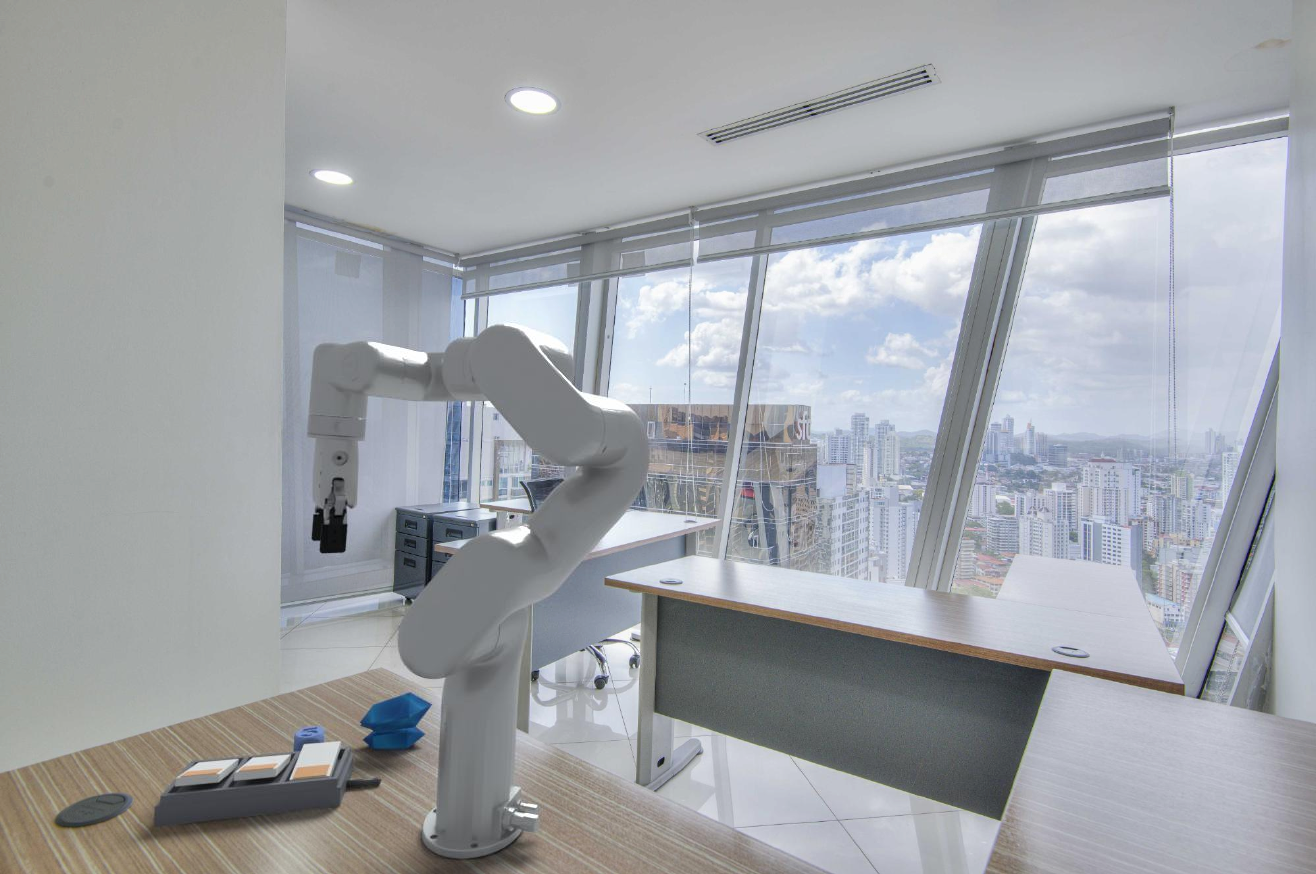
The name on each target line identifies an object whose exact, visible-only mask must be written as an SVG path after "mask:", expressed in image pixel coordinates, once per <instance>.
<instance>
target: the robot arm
mask: <svg viewBox="0 0 1316 874" xmlns="http://www.w3.org/2000/svg"><path fill="white" fill-rule="evenodd" d="M575 366H576V364H575V360H574V358H573V355H572V353H571V351H570V350H569V348H568V347H567V346H566V345H565V344H564V343H563V342H561V341H560V340H559V339H557V338H556V337H554V336H551V335H548V334H546V333H543V332H540V331H537V330H534V329H532V328H529V327H526V326H522V325H521V324H520V325H519V324H517V323H512V322H511V323H509V322H504V323H497V324H494V325H490V326H488V327H487V328H485V329H483V330H482V331H481V332H480V333H478V335H477V336H462V337H457V338H456V339H454V340H452V341H451V342H450V343H449V344H448V346H447V347H446V348H445V350H444V352H442V351H441V352H439V351H438V352H426V351H425V352H424V351H417V350H416V351H415V350H412V349H408V348H406V347H405V348H404V347H401V346H400V347H399V346H395V345H389V344H386V343H380V342H376V341H369V340H357V341H354V342H353V341H352V342H350V343H338V342H323V343H319V344H317V346H316V347H315V348H314V351H313V354H312V366H311V378H310V390H309V391H310V392H309V404H308V416H307V430H306V431H307V432H306V438H311V439H315V442H314V443H315V444H314V457H313V468H312V488H311V489H312V490H311V491H312V492H311V493H312V501H313V503H314V504H315V505H314V513H313V515H312V526H311V540H312V541H313V542H319V552H320V553H321V554H325V555H326V554H344V553H345V552H346V549H347V539H348V538H347V537H348V526H349V524H348V508H349V509H350V510H353V509H355V508H356V507H357V505H358V492H359V491H358V489H359V487H358V486H359V463H360V462H359V460H360V459H359V457H360V456H359V454H360V453H359V442H364V441H366V428H367V425H366V424H367V416H368V415H367V413H368V405H369V404H368V403H369V397H374V398H376V397H377V398H382V399H383V398H387V399H393V400H401V401H408V402H410V401H411V402H445V403H446V402H450V403H451V402H452V403H453V402H462V403H463V402H464V403H465V402H490V404H492V406H493V407H494V408H495V410H497V412H498V413H499V414H500V415H501V416H502V418H503V419H504V420H505V421H506V423H508V424H509V425H510V427H511V428H512V429H513V430H514V431H515V433H516V434H518V435H519V437H520V439H521V440H523V442H524V443H525V444H526V445H527V446H528V448H530V450H532V452H534V453H535V454H536V455H537V456H538V457H540V458H541V459H543V460H545V461H547V462H548V463H550V464H553V465H555V466H559V467H560V466H561V467H569V468H570V467H572V468H573V467H578V468H577V469H576V470H575V471H573V473H571V474H570V475H569V476H568V477H566V479H564V480H563V481H561V482H560V483H559V484H558V485H557V486H555V488H554V489H552V491H550V493H549V494H548V495H547V496H546V498H545V499H544V500H543V501H542V503H540V505H539V506H538V507H537V508H536V509H535V510H534V511H533V512H532V513H531V514H530V515H529V516H528V517H527V518H526V519H525V520H523V521H522V522H521V523H519V524H515V525H513V526H510V527H505V528H500V529H496V530H490V531H486V532H484V533H482V534H479V535H477V536H474V537H473V538H471V539H470V540H468V541H467V542H465V543H464V544H463V545H462V546H461V547H459V548H458V549H457V550H456V551H455V552H454V553H453V555H452V556H451V557H450V558H448V560H447V561H446V562H445V564H444V565H443V566H442V567H441V568H440V569H439V571H437V573H436V574H435V575H434V576H433V578H432V579H431V580H430V581H429V582H428V583H427V585H426V586H425V587H424V588H423V589H422V591H421V592H419V594H418V595H417V596H416V598H415V599H414V600H413V601H412V603H411V604H410V605H409V607H408V608H407V610H406V612H405V613H404V615H403V616H402V618H401V621H400V624H399V628H398V632H397V650H398V654H399V656H400V660H401V661H402V663H403V665H404V666H405V668H406V669H407V670H408V671H409V672H411V673H412V674H414V675H416V676H418V677H419V678H423V679H426V680H427V679H428V680H441V679H444V681H443V684H442V685H443V686H442V692H441V707H440V722H439V723H440V727H439V745H438V746H439V748H438V766H437V767H438V769H437V784H436V785H437V786H436V787H437V789H436V806H435V807H433V808H432V809H431V810H430V811H429V812H428V814H427V815H426V816H425V818H424V820H423V822H422V826H421V827H422V828H421V838H422V842H423V843H424V845H425V847H427V849H429V850H430V851H431V852H433V853H435V854H436V855H439V856H442V857H445V858H451V859H473V858H480V857H484V856H488V855H491V854H493V853H496V852H498V851H500V850H502V849H505V848H506V847H507V846H509V845H510V844H511V843H512V842H514V841H515V839H517V838H518V837H519V836H520V834H521V833H522V831H524V832H529V833H534V834H537V833H538V831H539V828H540V826H541V821H542V820H541V815H540V814H539V811H540V805H539V804H537V803H532V802H530V803H528V802H524V800H523V799H521V798H522V797H521V796H522V795H521V794H522V787H521V786H516V785H515V770H516V769H515V768H516V765H515V764H516V748H517V746H516V744H517V743H516V742H517V726H518V725H517V724H518V706H519V691H520V690H519V688H520V675H521V665H522V660H523V659H522V658H523V654H524V649H525V644H526V641H527V634H528V629H529V622H530V621H529V619H530V617H529V616H530V615H529V606H531V605H534V604H535V603H538V602H541V601H542V600H544V599H546V598H548V597H550V596H551V595H553V594H554V593H555V592H556V591H557V590H558V589H560V587H561V586H562V585H563V583H565V581H566V580H567V579H568V578H569V576H570V575H571V574H572V573H573V572H574V571H575V569H576V568H578V566H579V565H580V564H581V563H582V562H583V561H584V560H585V559H586V557H588V555H589V554H590V553H591V552H592V551H593V550H594V549H595V548H596V546H597V545H598V544H599V543H600V542H601V540H602V539H603V538H604V537H605V536H606V535H607V534H608V533H609V532H610V531H611V529H612V528H614V526H615V525H616V524H617V523H618V522H619V521H620V520H621V519H622V517H623V516H624V515H625V514H626V513H627V511H629V509H630V508H631V506H632V505H633V503H634V502H635V501H636V499H637V498H638V496H639V494H640V493H641V490H642V489H643V486H644V485H645V482H646V479H647V477H648V474H649V467H650V463H651V462H650V460H651V447H650V441H649V436H648V434H647V429H646V428H645V427H646V426H645V424H644V423H643V421H642V420H641V418H640V417H639V415H638V414H637V413H636V411H634V410H633V409H632V408H631V407H630V406H628V405H627V404H626V403H623V402H622V401H619V400H617V399H615V398H610V397H606V396H604V395H603V396H602V395H597V394H592V393H588V392H584V391H583V392H582V391H580V390H578V389H577V387H575V386H574V385H573V384H572V383H573V381H574V377H575V374H576V369H575V368H576V367H575ZM347 507H348V508H347Z"/></svg>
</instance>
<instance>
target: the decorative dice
mask: <svg viewBox="0 0 1316 874" xmlns="http://www.w3.org/2000/svg"><path fill="white" fill-rule="evenodd" d="M313 743H325V728H324V727H322V726H318V725H317V726H316V725H312V726H306V727H303V728H301V729H299V730H297V731H296V732H295V733H294V737H293V750H292V752H297V751H301V750H302V748H303V745H304V744H313Z"/></svg>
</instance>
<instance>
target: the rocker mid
mask: <svg viewBox="0 0 1316 874" xmlns="http://www.w3.org/2000/svg"><path fill="white" fill-rule="evenodd" d="M290 759H291V754H288V755H277V756H266V757H254V758H252V759H250V760H249V761H248V762H247V763H246V764H244V765H243V766H242V767H241V768H240V769H238V770H237V771H236V772H235V775H234V781H237V780H247V779H257V778H268V777H276V776H277V775H278V774H279V773H280V772H281V771H282V770H283V769H284V768H285V767H286V766H287V765H288V764H289V763H290Z"/></svg>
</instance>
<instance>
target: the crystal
mask: <svg viewBox="0 0 1316 874" xmlns="http://www.w3.org/2000/svg"><path fill="white" fill-rule="evenodd" d="M432 706H433V704H432V703H431V702H429V701H428V700H426V699H424V698H423V697H420V696H418V695H417V694H415V693H413V692H412V691H410V692H406V693H404V694H401V695H398V696H395V697H392V698H388V699H386V700H383V701H380V702H377V703H374V704H373V705H372V706H371V707H370V708H369V709H368V711H367V712H366V714H365V715H364V716H363V718H362V719H361V720H360V721H359V724H360V727H362V728H365V729H368V730H370V731H371V732H370V733H368V735H366V736H365V737H364V738H363V739H362V741H363V742H364V743H366V745H368V747H370V748H371V749H372V750H373V749H375V750H376V749H384V750H408V749H409V748H411V747H412V746H413V745H414V744H416V743H417V742H418V741H419V740H420V739H422V738H423V737H424V736H425V735H426V733H425V732H423V731H422V730H421V729H419V728H418V727H417V725H418V724H419V723H420V722H421V720H423V717H424V716H425V715H426V714H427V712H428V711H429V710H430V709H431V707H432Z"/></svg>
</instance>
